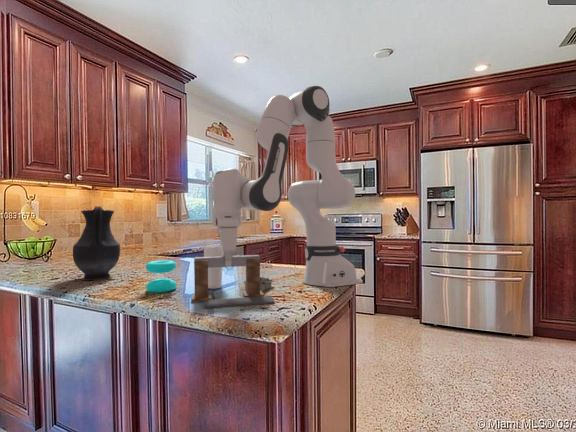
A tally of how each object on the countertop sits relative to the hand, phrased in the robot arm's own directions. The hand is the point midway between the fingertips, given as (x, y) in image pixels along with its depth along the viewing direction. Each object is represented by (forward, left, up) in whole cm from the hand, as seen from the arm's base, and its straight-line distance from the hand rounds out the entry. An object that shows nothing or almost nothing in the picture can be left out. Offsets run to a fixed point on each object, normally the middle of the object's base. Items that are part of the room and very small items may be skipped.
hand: (227, 264), depth 105 cm
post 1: (+8, 0, -11) cm, 13 cm away
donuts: (+22, -17, -11) cm, 30 cm away
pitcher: (+51, -47, -11) cm, 70 cm away
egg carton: (-11, -10, -11) cm, 19 cm away
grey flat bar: (-3, +7, -11) cm, 13 cm away
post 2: (-8, 0, -11) cm, 13 cm away
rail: (0, 0, -1) cm, 1 cm away
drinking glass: (+4, -16, -11) cm, 20 cm away
